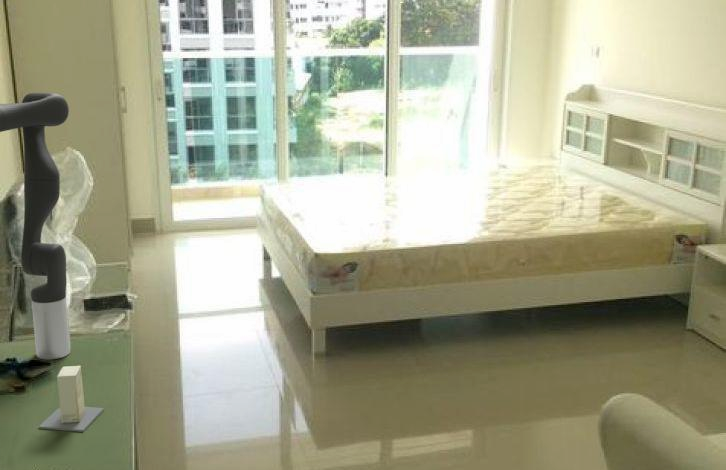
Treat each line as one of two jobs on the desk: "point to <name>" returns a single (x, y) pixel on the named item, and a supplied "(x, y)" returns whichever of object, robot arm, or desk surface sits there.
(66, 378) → the skincare box
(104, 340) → the desk surface
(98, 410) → the grey flat square slab
